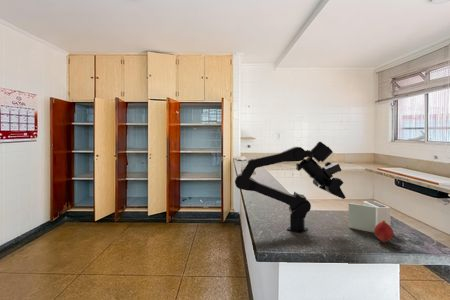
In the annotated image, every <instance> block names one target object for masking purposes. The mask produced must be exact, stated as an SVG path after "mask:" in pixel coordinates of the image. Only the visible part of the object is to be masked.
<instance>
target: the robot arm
mask: <svg viewBox="0 0 450 300" xmlns="http://www.w3.org/2000/svg"><path fill="white" fill-rule="evenodd" d="M332 154H333V150H332V149H331V148H330V147H329V146H328V145H326V144H325V143H323V142H322V141H318V142H317V143H316V145H314V147H313V148H312V149H311V150H310V149H306V150H305V149H304V148H303V147H300V146H293V147H291V148H288V149H286V150H283V151H282V152H278V153H274V154H270V155H265V156H262V157H261V156H260V157H257V158H251V159H249V160H248V162H247V164H246V165H245V167H244V169H243V170H242V172H241V173H238V175H236V177H235V180H234V184H235V186H236V188H237V189H239V190H244V191H249V192H256V193H258V194H260V195H263V196H266V197H268V198H270V199H273V200H276V201H279V202H281V203H282V204H283V203H284V204H286V205H287V206H289V207H288V210H289V212H290V215H289V219H290V220H289V222H290V223H289V225H290V226H289V227H288V228H286V230H287V231H291V232H295V233H299V234H302V233H304V232H306V231H307V230H309V228H308V227H305V224H306V222H305V221H306V220H305V219H306V217H307V213H309V212H310V210H311V208H312V205H311V202H310V201H309V200H308V199H307V197H306V196H305V195H304V194H301V193H298V192H296V191H293V194H292V193H287V192H284V191H281V190H279V189H276V188H273V187H272V186H268V185H267V184H264V183H261V182H258V181H257V180H255V179H254V178H253V177H252V176H253V174H254V172H255V171H256V169H257V168H262V167H267V166H270V165H275V164H279V163H284V162H285V163H290V162H294V163H295V162H297V163H296V165H295V166H296V167H295V168H296V169H295V170H297V171H298V172H300V171H301V170H303V171H304V172H305V173H306V174H307V175H308V176H309V178H310V179H312V184H313V185H314V186H315V187H317V188H319V189H320V190H323V191H325V192H327V193H328V194H331V195H333V196H336V197H338V198H340V199H342V200H345V199H346V195H345V193H344V192H343V190H342V188H341V186H342V185H343V184H344V181H343V180H342V179H341V178H339V177H334V175H335V174H337V173H339V172H341V171H342V168H341V166H340V164H339V162H330V161H327V162H325V161H326V160H327V159H328V157H330V156H331V155H332ZM316 161H317V162H318V163H323V162H324V167H323V166H321V165H320V164H318V163H317V162H316ZM298 162H299V163H298Z"/></svg>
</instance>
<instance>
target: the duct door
mask: <svg viewBox="0 0 450 300" xmlns="http://www.w3.org/2000/svg"><path fill="white" fill-rule="evenodd" d="M375 227H376V207H373V206H366V205H363V204H358V203H351V202H349V203H348V228H350V229H355V230H359V231H365V232H370V233H374V229H375Z"/></svg>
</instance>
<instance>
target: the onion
mask: <svg viewBox="0 0 450 300" xmlns="http://www.w3.org/2000/svg"><path fill="white" fill-rule="evenodd" d="M373 233H374V235H375V237H377V239H379V240H380V241H381V242H382V243H386V242H387V241H389V240H390V239H392V238H393V237H394V230H393V228H392V227H391V225H390V226H389V225H388V224H387V223H386V222H385V220H383V221H382V222H380V223H378V224H377V225H376V227H375V229H374V232H373Z"/></svg>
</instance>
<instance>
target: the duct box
mask: <svg viewBox="0 0 450 300" xmlns="http://www.w3.org/2000/svg"><path fill="white" fill-rule="evenodd" d="M362 205H366V206H373V207H376V225H377V224H378V223H380V222H382V221H383V220H385V222H386V223H387V224H388V225H389V226H390V227H391V207H390V206H388V205H385V204H383V203H381V202H378V201H375V200H367V201H366V200H365V201H364V200H363V201H362Z"/></svg>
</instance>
